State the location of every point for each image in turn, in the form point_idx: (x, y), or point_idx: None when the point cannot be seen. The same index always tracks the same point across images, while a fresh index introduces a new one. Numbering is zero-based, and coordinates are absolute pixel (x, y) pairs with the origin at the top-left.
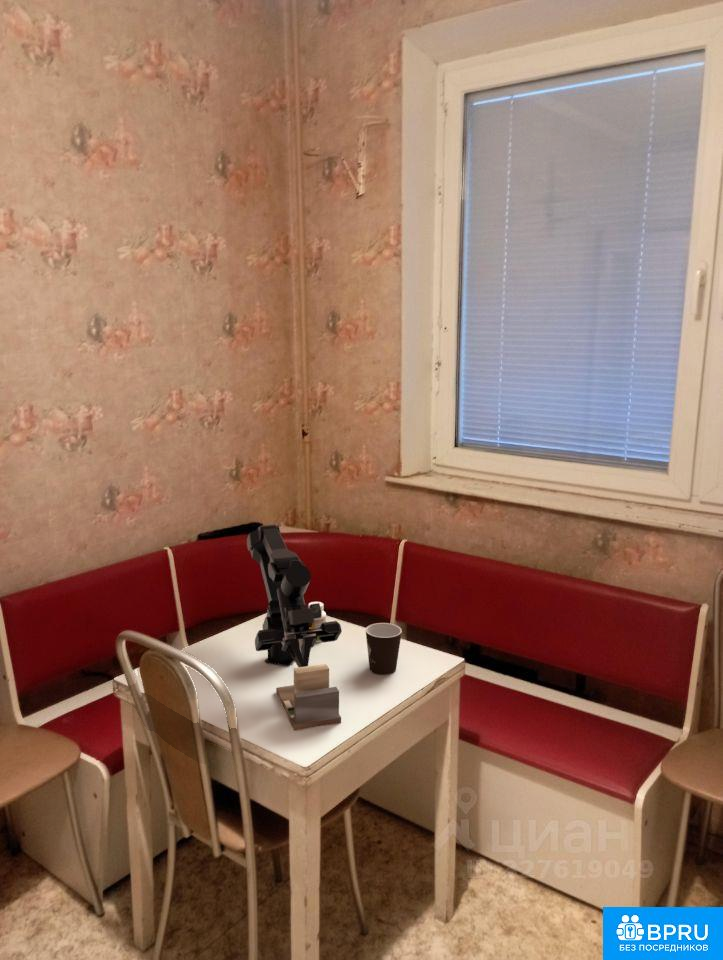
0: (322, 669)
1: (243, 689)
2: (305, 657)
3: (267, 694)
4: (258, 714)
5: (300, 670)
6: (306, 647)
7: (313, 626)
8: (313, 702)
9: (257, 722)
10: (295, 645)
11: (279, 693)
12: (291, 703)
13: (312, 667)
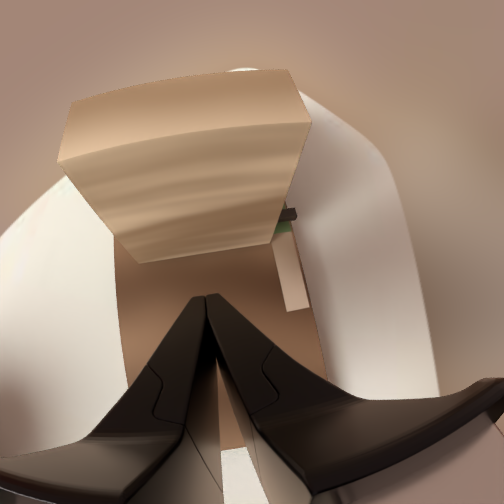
0: (112, 91)
1: None
2: (188, 350)
3: None
4: (383, 267)
5: (261, 91)
6: (153, 430)
7: None
8: None
9: (379, 222)
10: (332, 416)
11: (324, 376)
12: (277, 287)
13: (166, 114)
